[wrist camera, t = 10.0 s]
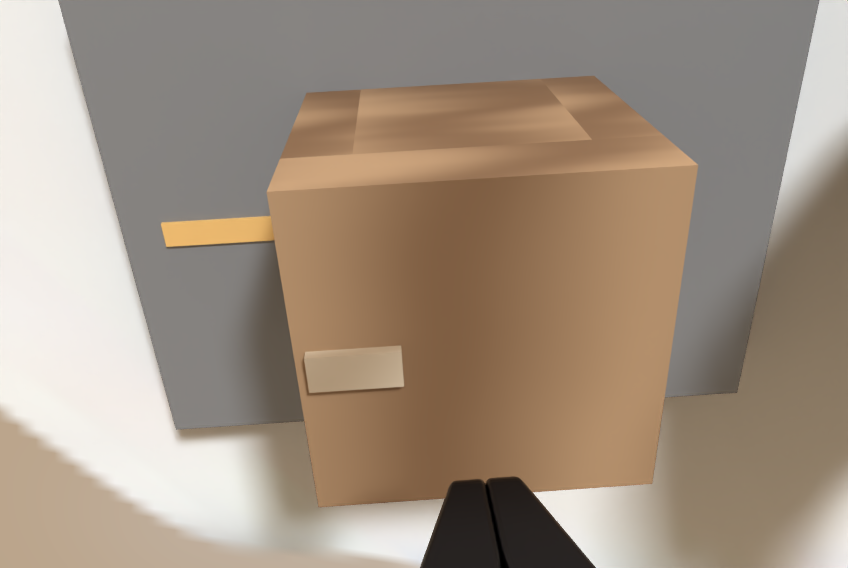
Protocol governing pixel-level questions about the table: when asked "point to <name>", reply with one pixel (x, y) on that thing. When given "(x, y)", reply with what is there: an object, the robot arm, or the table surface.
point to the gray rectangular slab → (405, 67)
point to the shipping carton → (479, 285)
